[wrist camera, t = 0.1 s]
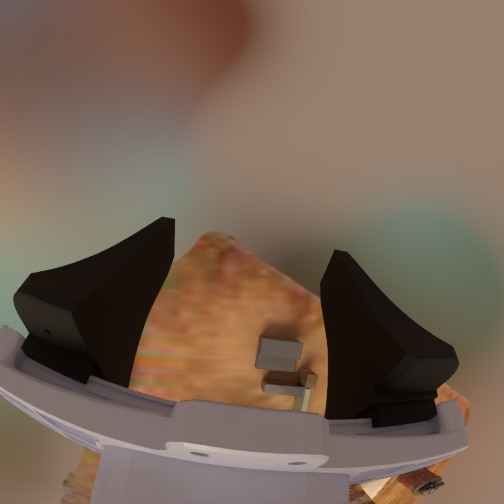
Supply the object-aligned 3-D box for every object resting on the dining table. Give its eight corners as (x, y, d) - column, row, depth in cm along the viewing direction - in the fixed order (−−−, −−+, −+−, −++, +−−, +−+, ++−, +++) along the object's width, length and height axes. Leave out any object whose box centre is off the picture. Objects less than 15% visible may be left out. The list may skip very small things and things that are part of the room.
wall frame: (283, 443, 38) (289, 456, 33) (273, 441, 38) (277, 455, 33) (310, 369, 41) (319, 375, 36) (300, 367, 41) (308, 373, 36)
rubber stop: (291, 369, 41) (297, 375, 37) (254, 365, 41) (257, 371, 37) (296, 340, 43) (303, 343, 38) (259, 335, 42) (262, 338, 38)
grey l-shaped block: (294, 424, 39) (301, 435, 34) (254, 422, 39) (257, 432, 34) (303, 382, 41) (311, 389, 36) (262, 378, 40) (266, 385, 36)
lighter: (395, 483, 36) (417, 502, 26) (398, 472, 37) (422, 491, 27) (421, 474, 36) (445, 489, 27) (425, 463, 37) (450, 478, 27)
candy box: (324, 474, 37) (353, 518, 22) (345, 466, 37) (379, 506, 22) (332, 500, 35) (358, 542, 20) (351, 492, 36) (381, 531, 21)
